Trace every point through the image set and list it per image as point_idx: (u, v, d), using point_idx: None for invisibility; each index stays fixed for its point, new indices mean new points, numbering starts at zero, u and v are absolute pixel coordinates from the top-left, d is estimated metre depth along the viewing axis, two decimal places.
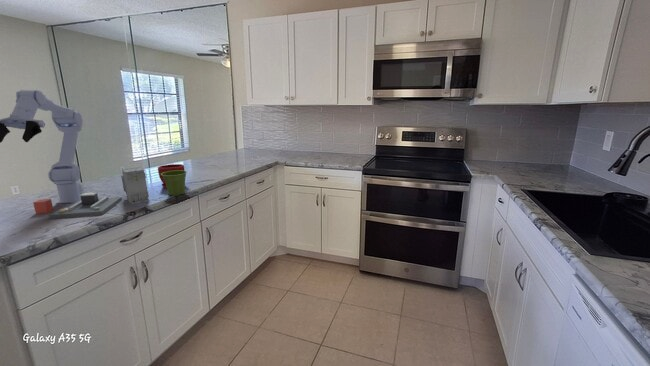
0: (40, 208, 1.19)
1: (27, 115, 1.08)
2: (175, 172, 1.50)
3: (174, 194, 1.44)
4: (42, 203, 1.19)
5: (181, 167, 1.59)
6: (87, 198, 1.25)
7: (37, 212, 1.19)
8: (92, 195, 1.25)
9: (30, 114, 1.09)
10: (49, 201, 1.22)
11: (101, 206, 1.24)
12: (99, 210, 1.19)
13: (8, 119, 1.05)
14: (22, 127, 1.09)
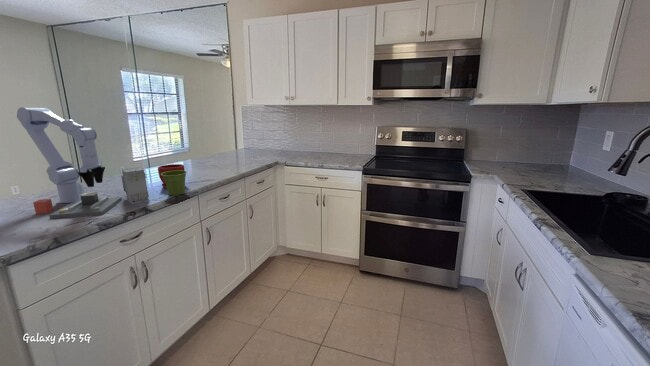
0: (40, 208, 1.19)
1: None
2: (175, 172, 1.50)
3: (174, 194, 1.44)
4: (42, 203, 1.19)
5: (181, 167, 1.59)
6: (87, 198, 1.25)
7: (37, 212, 1.19)
8: (92, 195, 1.25)
9: None
10: (49, 201, 1.22)
11: (101, 206, 1.24)
12: (99, 210, 1.19)
13: (94, 167, 1.28)
14: None
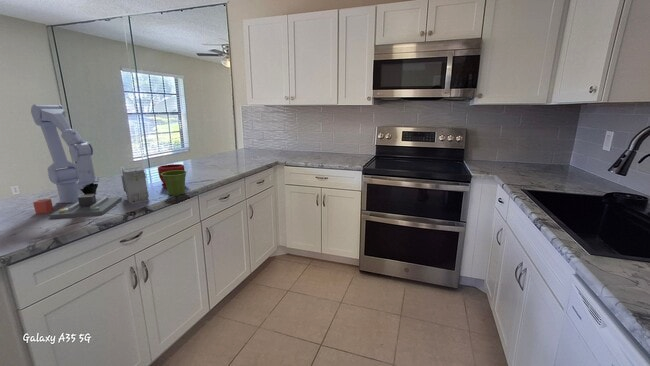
0: (40, 208, 1.19)
1: None
2: (175, 172, 1.50)
3: (174, 194, 1.44)
4: (42, 203, 1.19)
5: (181, 167, 1.59)
6: (84, 199, 1.23)
7: (37, 212, 1.19)
8: (90, 196, 1.23)
9: None
10: (49, 201, 1.22)
11: (101, 206, 1.24)
12: (99, 210, 1.19)
13: (91, 183, 1.24)
14: None
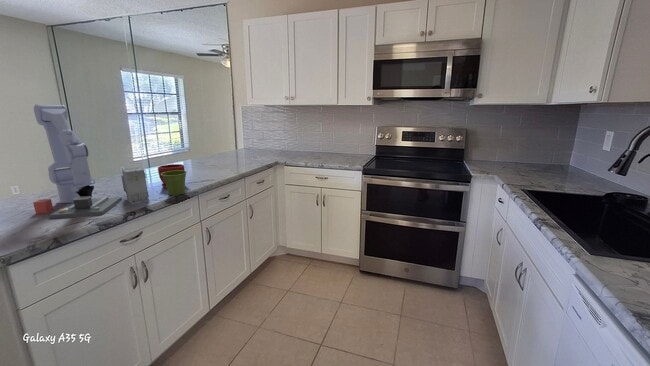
0: (40, 208, 1.19)
1: None
2: (175, 172, 1.50)
3: (174, 194, 1.44)
4: (42, 203, 1.19)
5: (181, 167, 1.59)
6: (80, 201, 1.20)
7: (37, 212, 1.19)
8: (85, 199, 1.20)
9: None
10: (49, 201, 1.22)
11: (101, 206, 1.24)
12: (99, 210, 1.19)
13: (86, 185, 1.21)
14: None
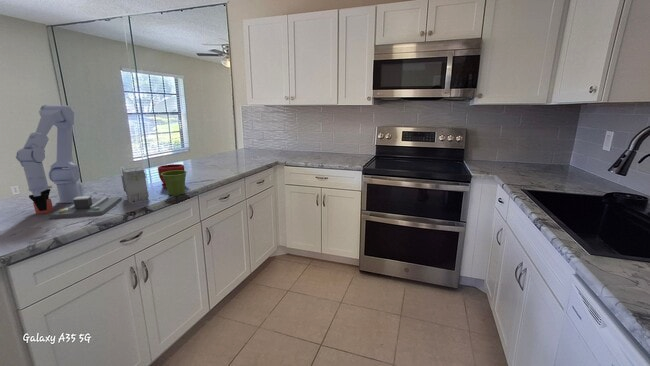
0: None
1: None
2: (175, 172, 1.50)
3: (174, 194, 1.44)
4: None
5: (181, 167, 1.59)
6: (80, 201, 1.20)
7: (37, 212, 1.19)
8: (85, 199, 1.20)
9: None
10: (49, 201, 1.22)
11: (101, 206, 1.24)
12: (99, 210, 1.19)
13: (45, 189, 1.19)
14: None
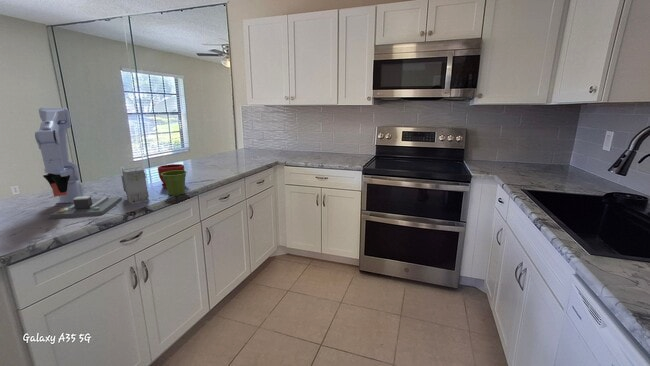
0: None
1: None
2: (175, 172, 1.50)
3: (174, 194, 1.44)
4: None
5: (181, 167, 1.59)
6: (80, 201, 1.20)
7: (55, 194, 1.19)
8: (85, 199, 1.20)
9: None
10: None
11: (101, 206, 1.24)
12: (99, 210, 1.19)
13: None
14: None
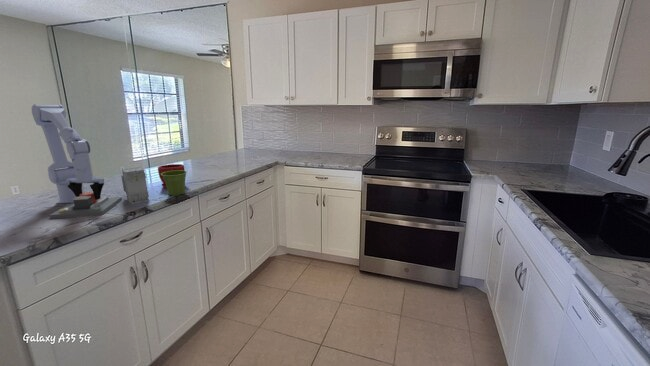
0: None
1: None
2: (175, 172, 1.50)
3: (174, 194, 1.44)
4: (93, 194, 1.26)
5: (181, 167, 1.59)
6: (80, 201, 1.20)
7: None
8: (85, 199, 1.20)
9: None
10: None
11: (101, 206, 1.24)
12: (99, 210, 1.19)
13: None
14: None
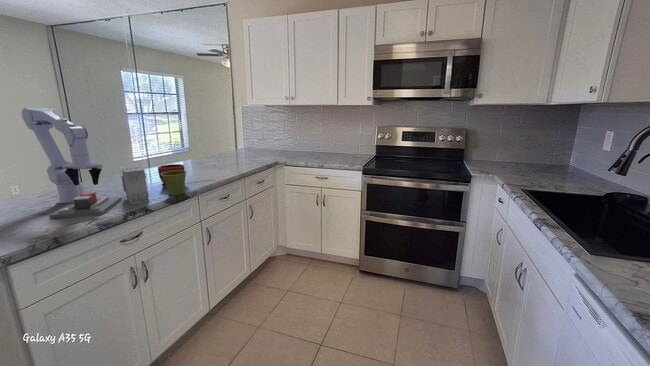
0: None
1: None
2: (175, 172, 1.50)
3: (174, 194, 1.44)
4: (93, 194, 1.26)
5: (181, 167, 1.59)
6: (80, 201, 1.20)
7: None
8: (85, 199, 1.20)
9: None
10: None
11: (101, 206, 1.24)
12: (99, 210, 1.19)
13: None
14: None
